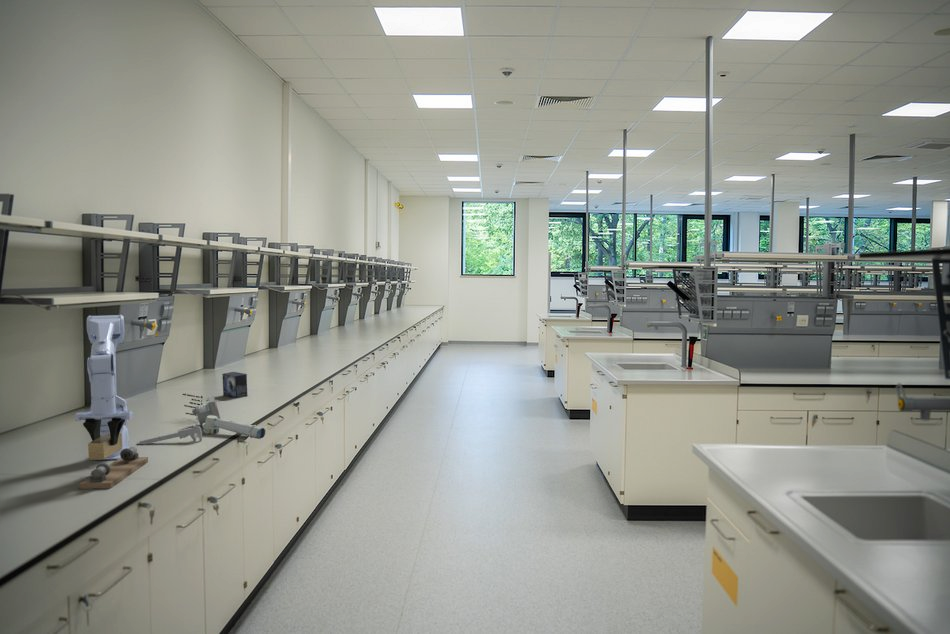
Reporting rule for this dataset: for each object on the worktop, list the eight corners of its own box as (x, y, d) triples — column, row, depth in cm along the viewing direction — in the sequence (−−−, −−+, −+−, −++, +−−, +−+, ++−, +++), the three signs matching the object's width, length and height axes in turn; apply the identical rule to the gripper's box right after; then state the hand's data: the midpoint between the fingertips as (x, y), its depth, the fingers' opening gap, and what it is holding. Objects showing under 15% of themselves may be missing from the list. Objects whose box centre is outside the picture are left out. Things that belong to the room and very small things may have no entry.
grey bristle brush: (233, 424, 227) (233, 398, 227) (206, 431, 218) (205, 404, 217) (190, 415, 241) (189, 391, 240) (163, 421, 231) (162, 396, 230)
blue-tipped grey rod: (257, 429, 205) (199, 413, 213) (255, 448, 206) (198, 431, 214) (267, 425, 210) (210, 410, 218) (265, 444, 211) (209, 428, 219)
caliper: (202, 441, 206) (201, 423, 205) (201, 442, 204) (200, 423, 204) (136, 444, 201) (135, 426, 201) (135, 445, 200) (134, 427, 200)
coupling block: (107, 448, 175) (107, 433, 175) (122, 448, 176) (121, 433, 175) (88, 459, 165) (88, 443, 165) (104, 458, 166) (103, 442, 165)
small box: (222, 395, 279) (221, 373, 278) (234, 393, 284) (234, 371, 283) (235, 398, 273) (234, 375, 272) (248, 396, 278) (247, 373, 277)
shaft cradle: (120, 462, 181) (119, 444, 181) (148, 461, 182) (147, 443, 182) (79, 489, 160) (78, 468, 159) (111, 488, 160) (110, 467, 160)
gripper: (67, 400, 165) (70, 449, 166) (123, 399, 166) (125, 448, 167) (82, 395, 172) (84, 442, 173) (135, 394, 173) (137, 441, 174)
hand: (105, 444), depth 170 cm, fingers closed on coupling block, 4 cm apart
